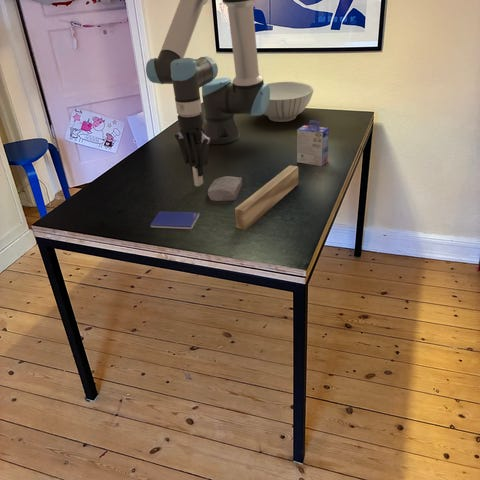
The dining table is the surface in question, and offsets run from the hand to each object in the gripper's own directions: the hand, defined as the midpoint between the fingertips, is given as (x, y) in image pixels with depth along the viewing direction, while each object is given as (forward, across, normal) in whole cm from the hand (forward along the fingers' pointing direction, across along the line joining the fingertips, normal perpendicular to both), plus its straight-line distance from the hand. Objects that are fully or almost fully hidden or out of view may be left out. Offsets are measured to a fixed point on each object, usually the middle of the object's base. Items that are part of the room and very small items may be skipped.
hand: (199, 184), depth 156 cm
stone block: (+2, +9, +1) cm, 10 cm away
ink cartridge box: (+2, +24, +34) cm, 42 cm away
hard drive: (+2, +7, -20) cm, 22 cm away
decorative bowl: (+1, -10, +74) cm, 74 cm away
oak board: (+2, +26, 0) cm, 27 cm away
